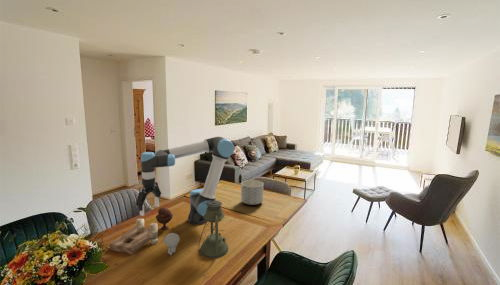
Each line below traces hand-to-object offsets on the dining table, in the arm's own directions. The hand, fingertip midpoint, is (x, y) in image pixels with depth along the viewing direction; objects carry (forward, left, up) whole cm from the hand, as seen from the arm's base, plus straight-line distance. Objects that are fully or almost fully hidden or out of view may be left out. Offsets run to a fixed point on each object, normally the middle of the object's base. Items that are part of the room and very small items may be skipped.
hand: (149, 210), depth 157 cm
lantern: (-42, -2, -20) cm, 46 cm away
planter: (-46, -76, -20) cm, 91 cm away
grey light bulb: (-21, +9, -20) cm, 30 cm away
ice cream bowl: (0, -15, -20) cm, 25 cm away
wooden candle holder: (+8, +5, -20) cm, 22 cm away
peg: (-4, +2, -20) cm, 20 cm away
